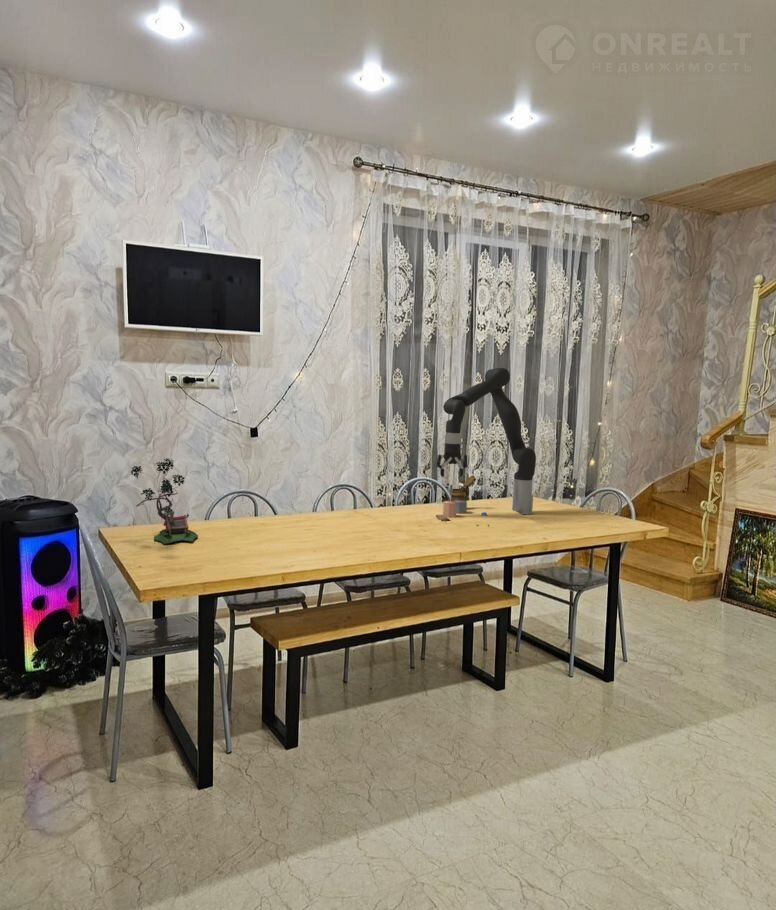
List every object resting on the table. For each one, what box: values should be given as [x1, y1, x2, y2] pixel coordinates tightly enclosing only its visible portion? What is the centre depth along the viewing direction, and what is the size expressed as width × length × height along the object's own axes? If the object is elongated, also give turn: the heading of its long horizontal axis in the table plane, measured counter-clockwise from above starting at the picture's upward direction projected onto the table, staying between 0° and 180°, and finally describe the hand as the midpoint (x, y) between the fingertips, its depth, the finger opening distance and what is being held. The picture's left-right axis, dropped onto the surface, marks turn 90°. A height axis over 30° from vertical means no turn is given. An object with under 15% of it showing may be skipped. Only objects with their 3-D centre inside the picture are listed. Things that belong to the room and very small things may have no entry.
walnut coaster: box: [435, 514, 452, 522], centre depth 333 cm, size 10×10×1 cm
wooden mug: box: [450, 475, 475, 502], centre depth 354 cm, size 9×14×18 cm, turn 118°
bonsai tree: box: [130, 458, 199, 546], centre depth 267 cm, size 35×24×32 cm
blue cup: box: [455, 500, 468, 515], centre depth 343 cm, size 6×6×7 cm
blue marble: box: [480, 511, 488, 517], centre depth 338 cm, size 3×3×3 cm
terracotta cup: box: [442, 500, 457, 519], centre depth 332 cm, size 6×6×7 cm
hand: (451, 476), depth 331 cm, fingers open, 8 cm apart
